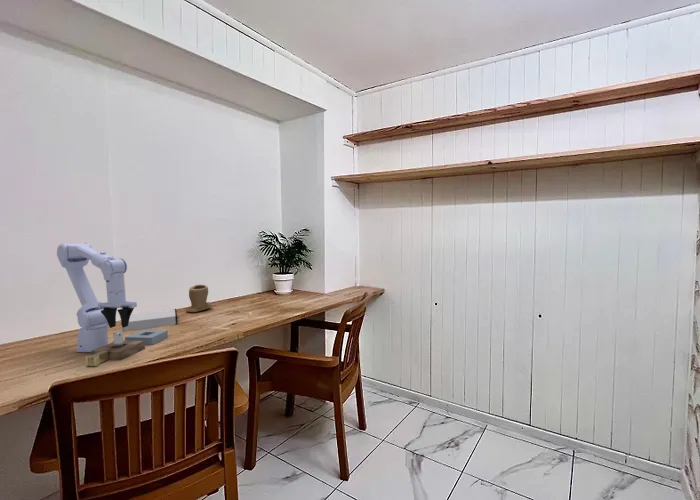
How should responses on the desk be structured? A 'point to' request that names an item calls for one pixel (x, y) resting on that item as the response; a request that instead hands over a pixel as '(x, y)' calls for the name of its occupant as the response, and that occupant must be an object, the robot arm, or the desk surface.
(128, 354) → the socket block
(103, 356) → the key
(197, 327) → the desk surface
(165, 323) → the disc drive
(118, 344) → the grey peg
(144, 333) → the block
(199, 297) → the stone cup
